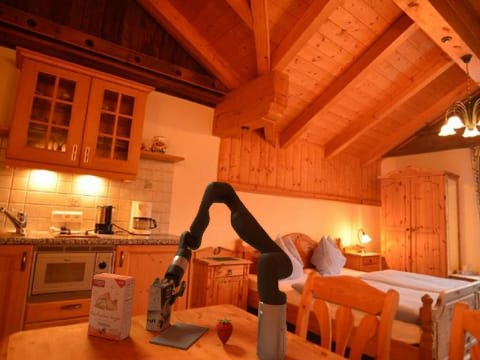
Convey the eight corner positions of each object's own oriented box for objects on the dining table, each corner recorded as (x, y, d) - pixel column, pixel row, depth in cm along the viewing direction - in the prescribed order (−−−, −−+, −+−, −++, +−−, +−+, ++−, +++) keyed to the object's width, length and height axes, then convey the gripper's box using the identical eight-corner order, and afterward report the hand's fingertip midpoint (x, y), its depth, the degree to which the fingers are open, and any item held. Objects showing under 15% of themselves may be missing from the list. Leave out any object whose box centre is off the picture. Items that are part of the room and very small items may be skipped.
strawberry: (215, 349, 101) (216, 318, 102) (215, 339, 109) (216, 311, 110) (232, 349, 101) (234, 318, 103) (231, 340, 109) (233, 311, 110)
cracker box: (86, 335, 106) (92, 274, 109) (98, 329, 112) (104, 272, 114) (119, 342, 102) (125, 279, 105) (130, 336, 108) (136, 276, 110)
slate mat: (209, 329, 118) (209, 327, 118) (185, 349, 99) (186, 348, 99) (177, 323, 122) (177, 322, 122) (149, 342, 103) (149, 340, 103)
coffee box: (160, 332, 113) (164, 287, 115) (145, 329, 114) (148, 286, 116) (170, 323, 122) (174, 282, 124) (156, 321, 123) (159, 281, 125)
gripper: (159, 262, 132) (141, 295, 119) (189, 265, 127) (174, 300, 115) (165, 272, 136) (148, 305, 124) (194, 276, 132) (179, 310, 120)
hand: (160, 303), depth 119 cm, fingers open, 8 cm apart
